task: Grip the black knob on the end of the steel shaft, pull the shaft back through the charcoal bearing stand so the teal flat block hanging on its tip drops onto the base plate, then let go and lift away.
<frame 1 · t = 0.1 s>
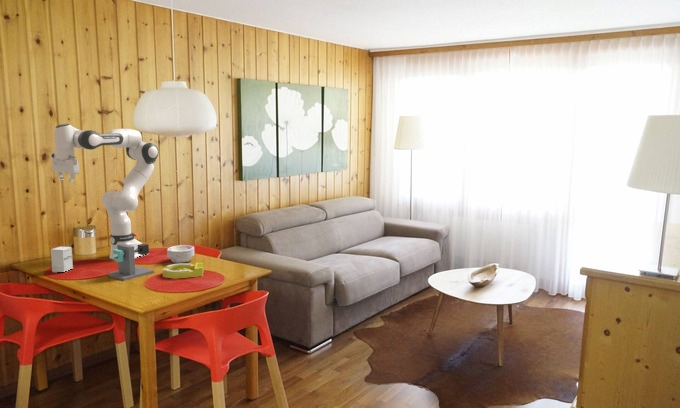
hand: (66, 181, 284), 48 cm above the table, tool pointing down, fingers open, 8 cm apart
supplement box: (62, 271, 287), on the table
shaft: (130, 252, 282), point 12 cm above the table, slide at 0.0 cm, touching teal flat block
ashtray: (183, 275, 285), on the table
teal flat block: (118, 260, 276), point 9 cm above the table, touching shaft
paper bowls: (181, 261, 311), on the table
bearing stand: (131, 274, 283), on the table
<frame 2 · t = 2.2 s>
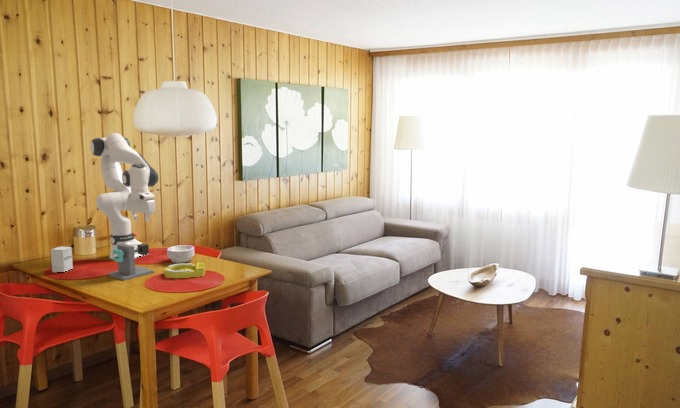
hand: (141, 220, 285), 28 cm above the table, tool pointing down, fingers open, 8 cm apart
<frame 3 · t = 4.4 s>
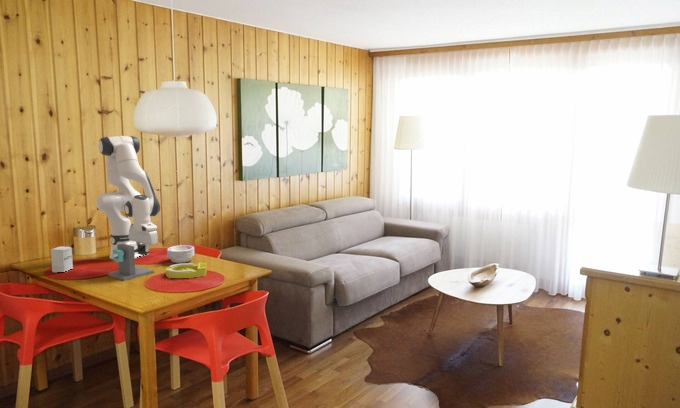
hand: (143, 250, 288), 11 cm above the table, tool pointing down, fingers closed on shaft, 4 cm apart
shaft: (130, 252, 282), point 12 cm above the table, slide at 0.0 cm, touching teal flat block, gripper
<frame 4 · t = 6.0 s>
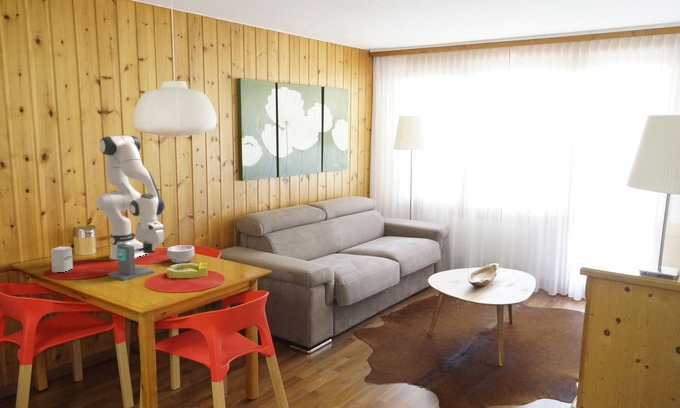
hand: (149, 249, 292), 11 cm above the table, tool pointing down, fingers closed on shaft, 4 cm apart
shaft: (135, 250, 284), point 12 cm above the table, slide at 3.5 cm, touching gripper
teal flat block: (121, 260, 278), point 9 cm above the table, touching bearing stand
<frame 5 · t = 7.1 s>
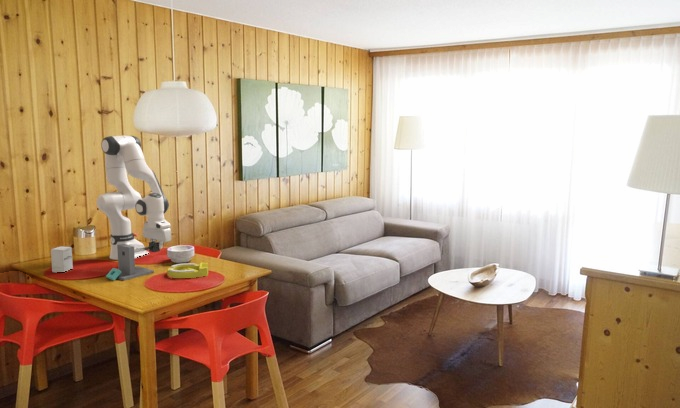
hand: (157, 247, 296), 11 cm above the table, tool pointing down, fingers closed on shaft, 4 cm apart
shaft: (141, 249, 287), point 12 cm above the table, slide at 7.1 cm, touching gripper
teal flat block: (117, 269, 276), point 4 cm above the table, tilted 127°
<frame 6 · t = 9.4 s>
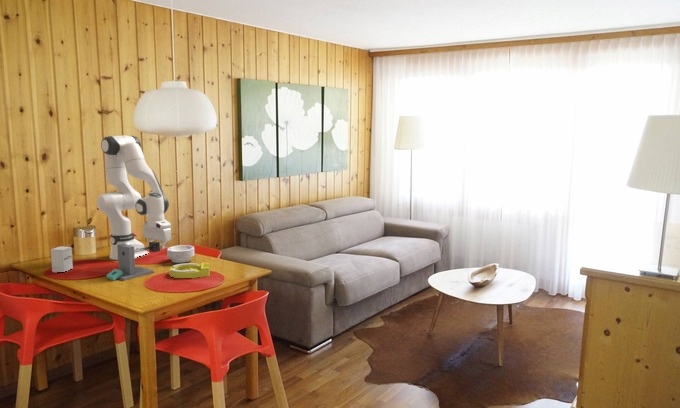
hand: (157, 247, 296), 11 cm above the table, tool pointing down, fingers open, 8 cm apart
shaft: (141, 249, 287), point 12 cm above the table, slide at 7.2 cm
teal flat block: (119, 271, 277), point 3 cm above the table, tilted 114°, touching bearing stand
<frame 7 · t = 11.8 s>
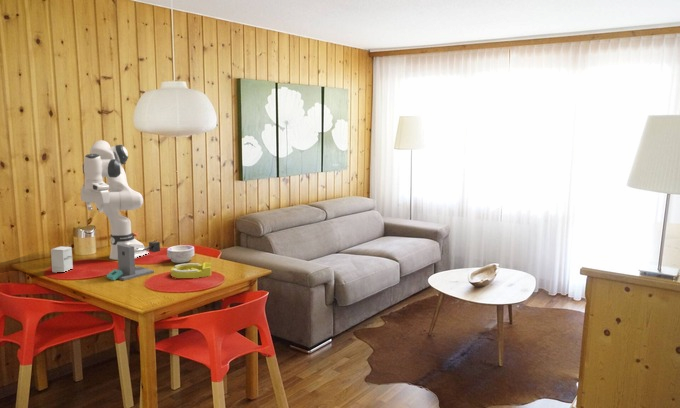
hand: (95, 211, 284), 33 cm above the table, tool pointing down, fingers open, 8 cm apart
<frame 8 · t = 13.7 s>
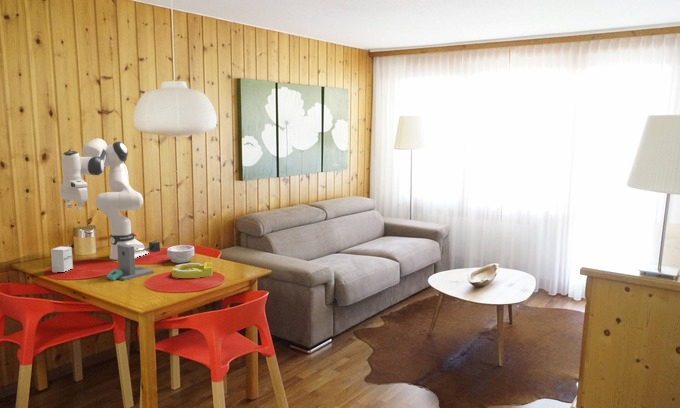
hand: (74, 208, 281), 34 cm above the table, tool pointing down, fingers open, 8 cm apart
at the end: shaft slide at 7.2 cm; teal flat block point 3.2 cm above the table; teal flat block touching bearing stand, table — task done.
